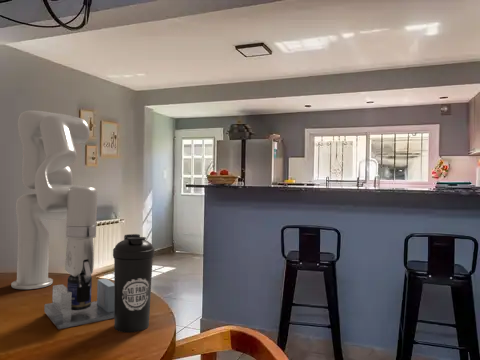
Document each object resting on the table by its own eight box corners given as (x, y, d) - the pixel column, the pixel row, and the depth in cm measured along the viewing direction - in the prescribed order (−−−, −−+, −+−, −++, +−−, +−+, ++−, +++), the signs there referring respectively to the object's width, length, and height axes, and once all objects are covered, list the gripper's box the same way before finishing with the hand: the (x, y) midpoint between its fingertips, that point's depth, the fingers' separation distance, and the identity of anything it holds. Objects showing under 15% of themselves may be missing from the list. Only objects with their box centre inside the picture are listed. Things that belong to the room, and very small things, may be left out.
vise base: (43, 313, 105) (43, 284, 105) (110, 301, 116) (111, 275, 117) (55, 330, 94) (56, 297, 94) (129, 315, 105) (129, 286, 106)
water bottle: (114, 336, 91) (117, 239, 91) (107, 322, 100) (110, 233, 100) (156, 330, 95) (159, 237, 96) (146, 316, 105) (149, 232, 105)
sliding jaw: (96, 303, 111) (97, 279, 111) (105, 302, 113) (106, 278, 113) (107, 312, 104) (108, 286, 104) (116, 310, 106) (117, 285, 106)
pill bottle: (82, 311, 101) (83, 269, 101) (61, 309, 102) (62, 268, 102) (95, 304, 107) (96, 264, 107) (75, 302, 108) (77, 263, 108)
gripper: (58, 229, 109) (56, 292, 109) (75, 237, 95) (73, 309, 95) (85, 227, 113) (84, 288, 113) (106, 235, 100) (104, 304, 100)
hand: (79, 297), depth 104 cm, fingers closed on pill bottle, 6 cm apart
